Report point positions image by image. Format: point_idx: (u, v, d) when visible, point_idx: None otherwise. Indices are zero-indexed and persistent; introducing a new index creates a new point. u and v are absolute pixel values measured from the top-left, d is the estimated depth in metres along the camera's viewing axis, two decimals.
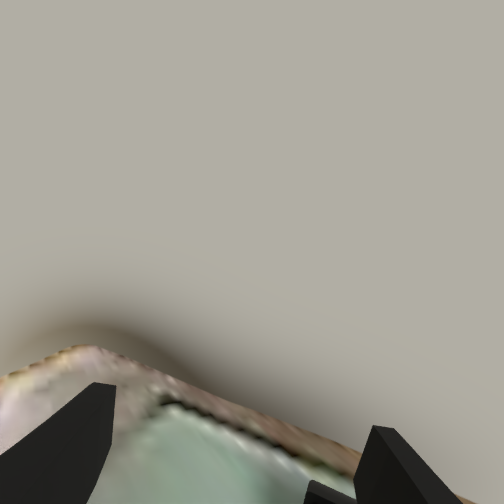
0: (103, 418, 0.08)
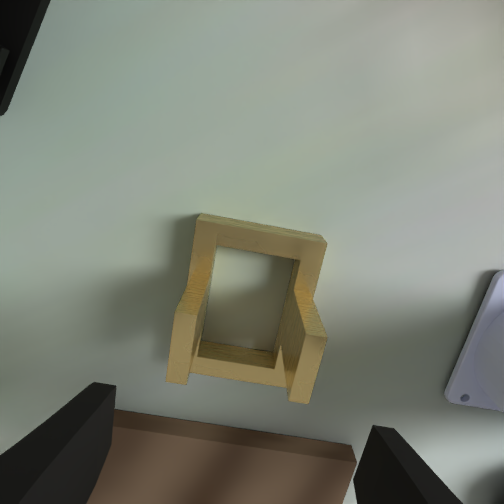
0: (103, 418, 0.08)
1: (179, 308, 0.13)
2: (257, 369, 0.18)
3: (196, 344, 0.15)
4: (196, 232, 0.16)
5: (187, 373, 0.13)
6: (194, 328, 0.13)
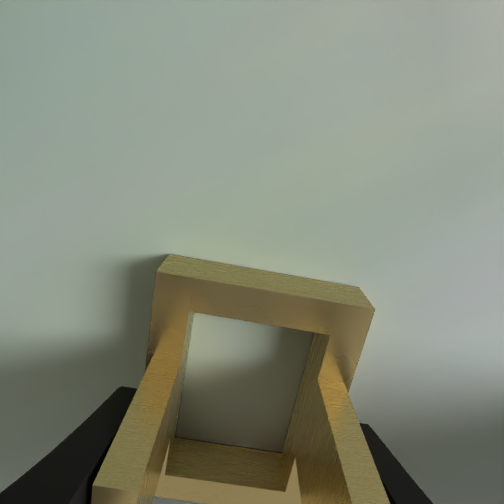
0: None
1: (105, 470, 0.06)
2: (258, 492, 0.11)
3: (155, 486, 0.09)
4: (157, 291, 0.09)
5: None
6: None
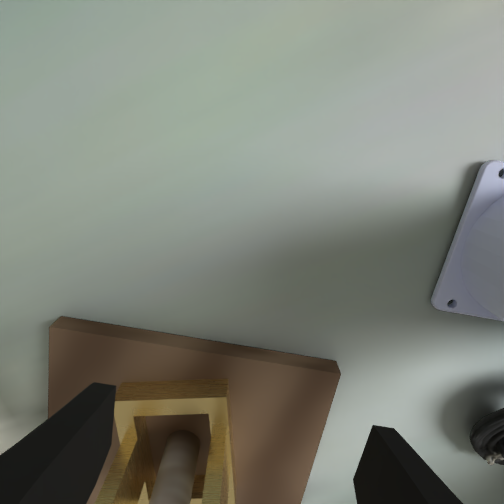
0: (103, 418, 0.08)
1: None
2: None
3: None
4: (115, 410, 0.18)
5: None
6: None
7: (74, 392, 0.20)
